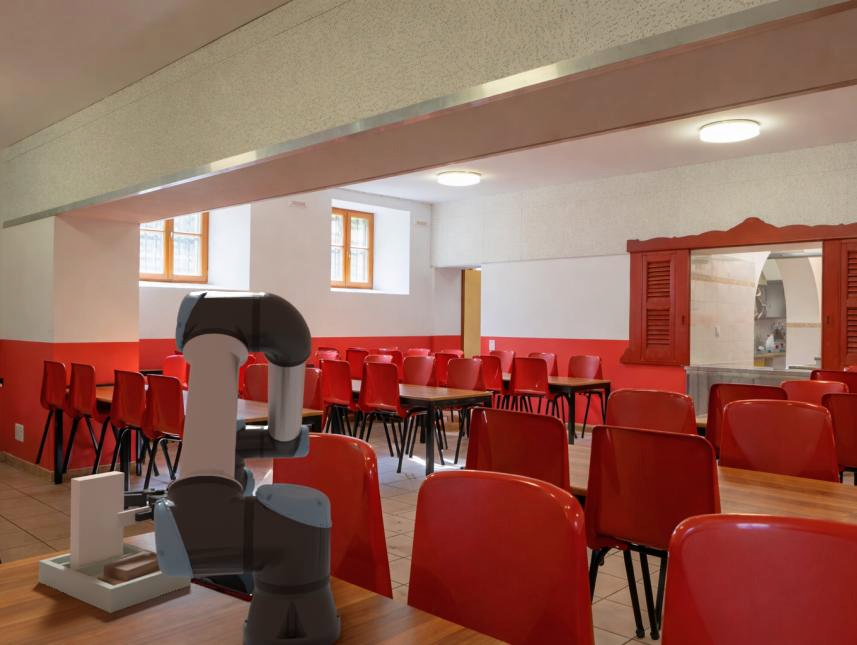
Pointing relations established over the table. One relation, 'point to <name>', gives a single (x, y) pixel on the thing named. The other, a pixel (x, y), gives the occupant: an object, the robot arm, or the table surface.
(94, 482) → the white rectangular block
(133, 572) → the offcut upper
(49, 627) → the table surface
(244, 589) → the smartphone
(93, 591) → the tray
